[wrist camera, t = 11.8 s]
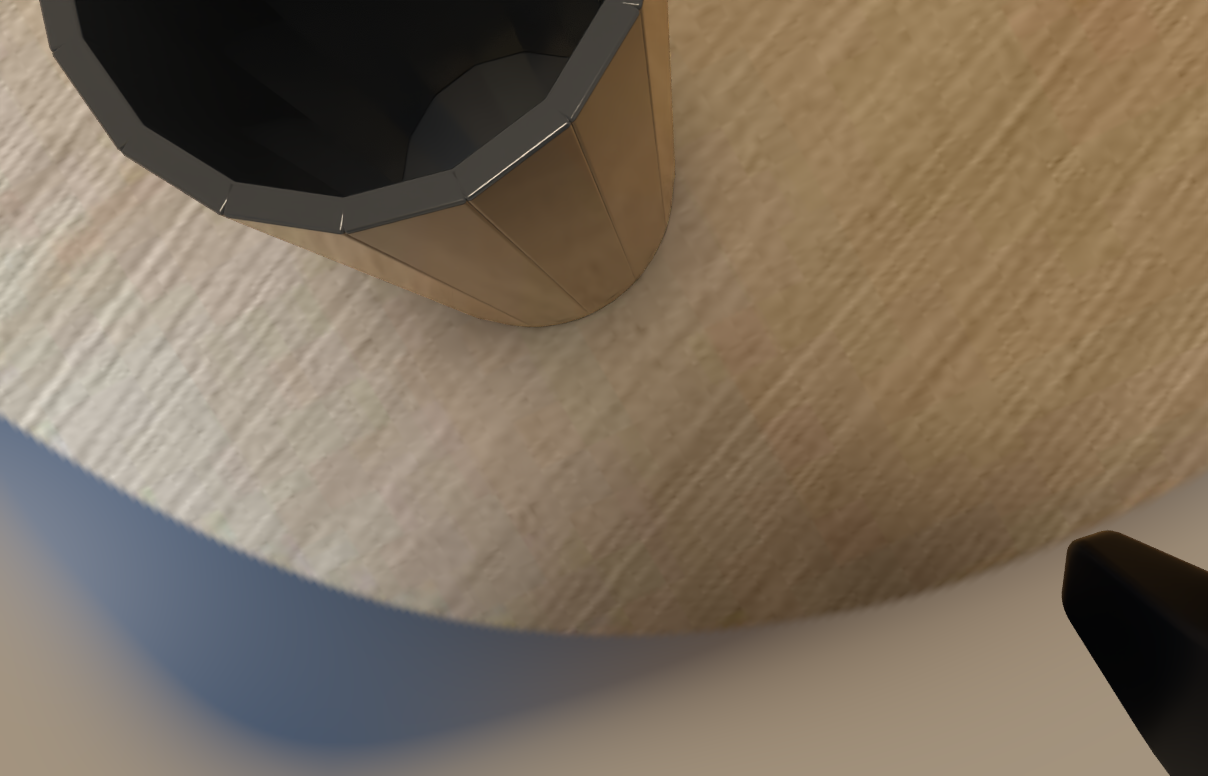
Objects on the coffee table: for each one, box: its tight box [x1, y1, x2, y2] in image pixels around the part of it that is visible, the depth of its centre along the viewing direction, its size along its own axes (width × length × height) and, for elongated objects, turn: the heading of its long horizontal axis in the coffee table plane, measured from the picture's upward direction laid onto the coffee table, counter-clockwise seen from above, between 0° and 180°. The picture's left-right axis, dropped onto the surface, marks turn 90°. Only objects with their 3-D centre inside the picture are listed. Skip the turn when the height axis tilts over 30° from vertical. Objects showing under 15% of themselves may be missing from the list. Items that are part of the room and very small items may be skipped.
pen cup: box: [39, 0, 675, 327], centre depth 16 cm, size 7×7×13 cm
